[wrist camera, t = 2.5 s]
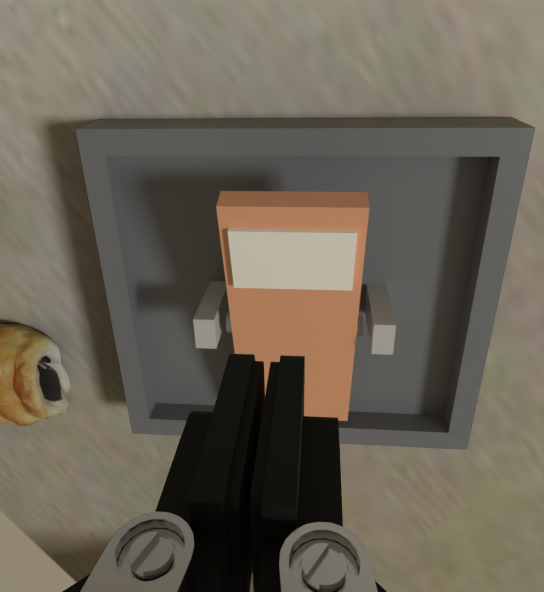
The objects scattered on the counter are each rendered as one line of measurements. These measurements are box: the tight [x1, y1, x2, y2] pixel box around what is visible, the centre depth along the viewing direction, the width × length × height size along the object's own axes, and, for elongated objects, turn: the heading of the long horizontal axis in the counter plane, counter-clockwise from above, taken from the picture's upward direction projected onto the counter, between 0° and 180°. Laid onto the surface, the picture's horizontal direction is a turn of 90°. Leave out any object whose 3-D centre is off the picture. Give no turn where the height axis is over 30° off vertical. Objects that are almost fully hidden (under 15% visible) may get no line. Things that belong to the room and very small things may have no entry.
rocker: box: [216, 191, 369, 421], centre depth 25 cm, size 14×7×2 cm, turn 1°
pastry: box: [0, 324, 71, 426], centre depth 32 cm, size 9×7×4 cm
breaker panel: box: [75, 117, 535, 450], centre depth 26 cm, size 18×20×6 cm
